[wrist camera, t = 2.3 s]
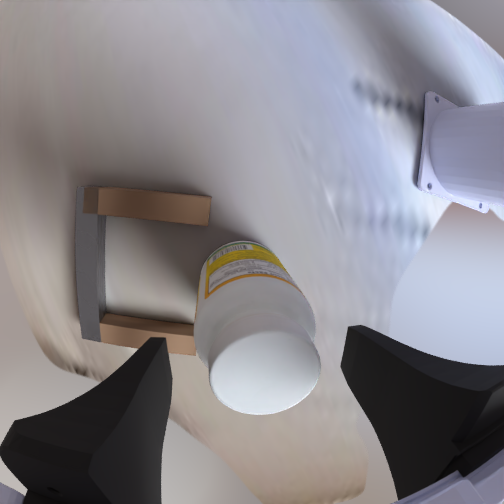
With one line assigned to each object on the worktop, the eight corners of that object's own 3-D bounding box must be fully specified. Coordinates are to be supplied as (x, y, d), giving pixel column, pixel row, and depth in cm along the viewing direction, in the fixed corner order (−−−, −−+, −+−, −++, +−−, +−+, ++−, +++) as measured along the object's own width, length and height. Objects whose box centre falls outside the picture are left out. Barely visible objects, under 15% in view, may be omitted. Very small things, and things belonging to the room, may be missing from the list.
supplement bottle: (225, 223, 18) (237, 280, 8) (298, 263, 19) (367, 342, 10) (185, 296, 18) (166, 401, 9) (256, 329, 20) (287, 436, 11)
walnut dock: (211, 196, 17) (211, 199, 16) (196, 343, 19) (195, 355, 18) (87, 185, 16) (77, 187, 14) (89, 328, 18) (82, 338, 17)
